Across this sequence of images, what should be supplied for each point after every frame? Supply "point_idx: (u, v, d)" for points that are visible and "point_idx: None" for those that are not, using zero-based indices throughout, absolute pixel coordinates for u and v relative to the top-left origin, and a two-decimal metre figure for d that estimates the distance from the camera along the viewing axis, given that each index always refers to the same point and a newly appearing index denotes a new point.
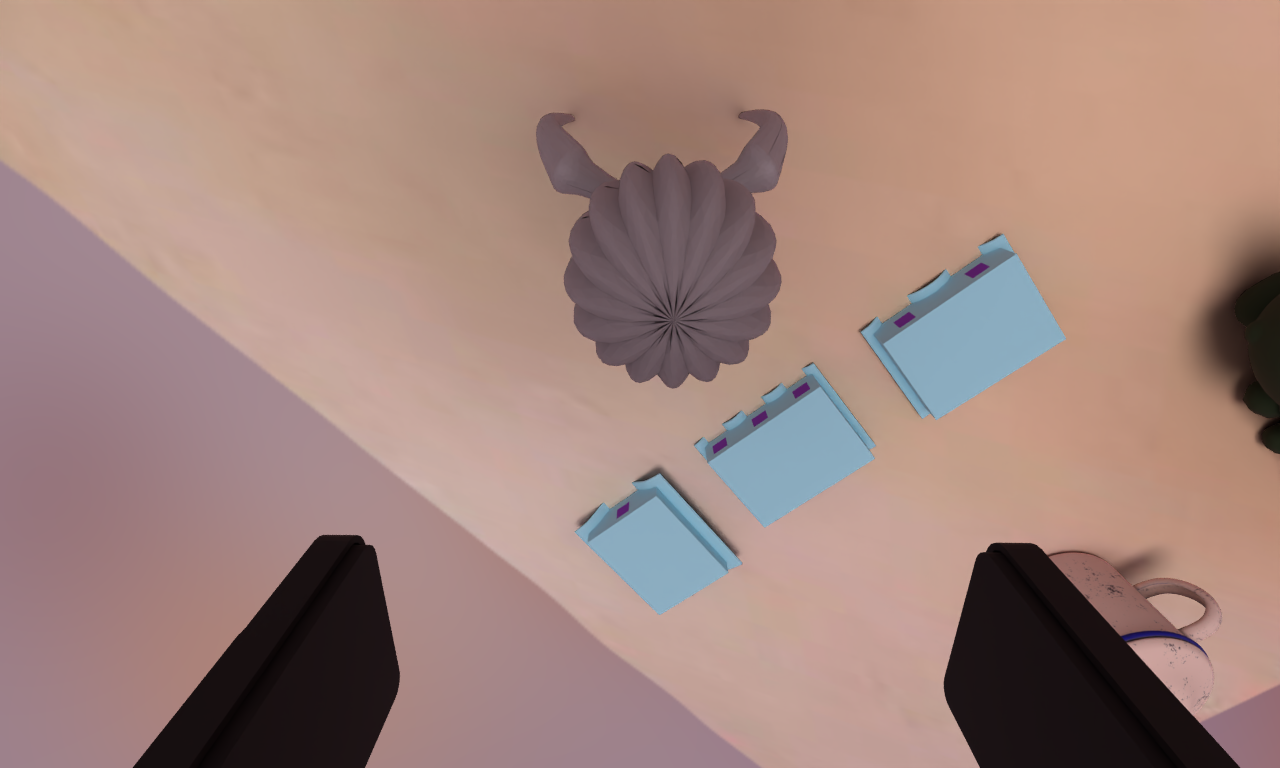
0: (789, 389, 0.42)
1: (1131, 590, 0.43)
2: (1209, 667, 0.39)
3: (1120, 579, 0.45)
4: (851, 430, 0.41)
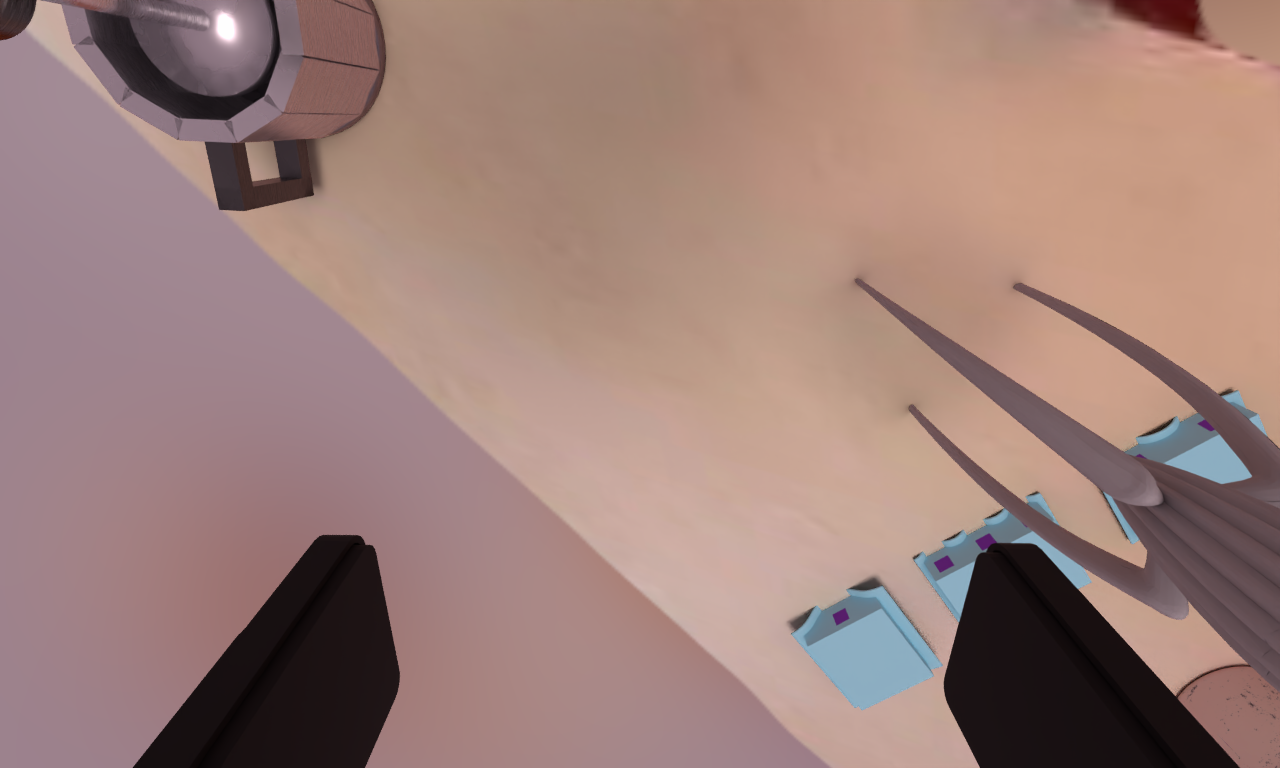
0: None
1: None
2: None
3: None
4: None
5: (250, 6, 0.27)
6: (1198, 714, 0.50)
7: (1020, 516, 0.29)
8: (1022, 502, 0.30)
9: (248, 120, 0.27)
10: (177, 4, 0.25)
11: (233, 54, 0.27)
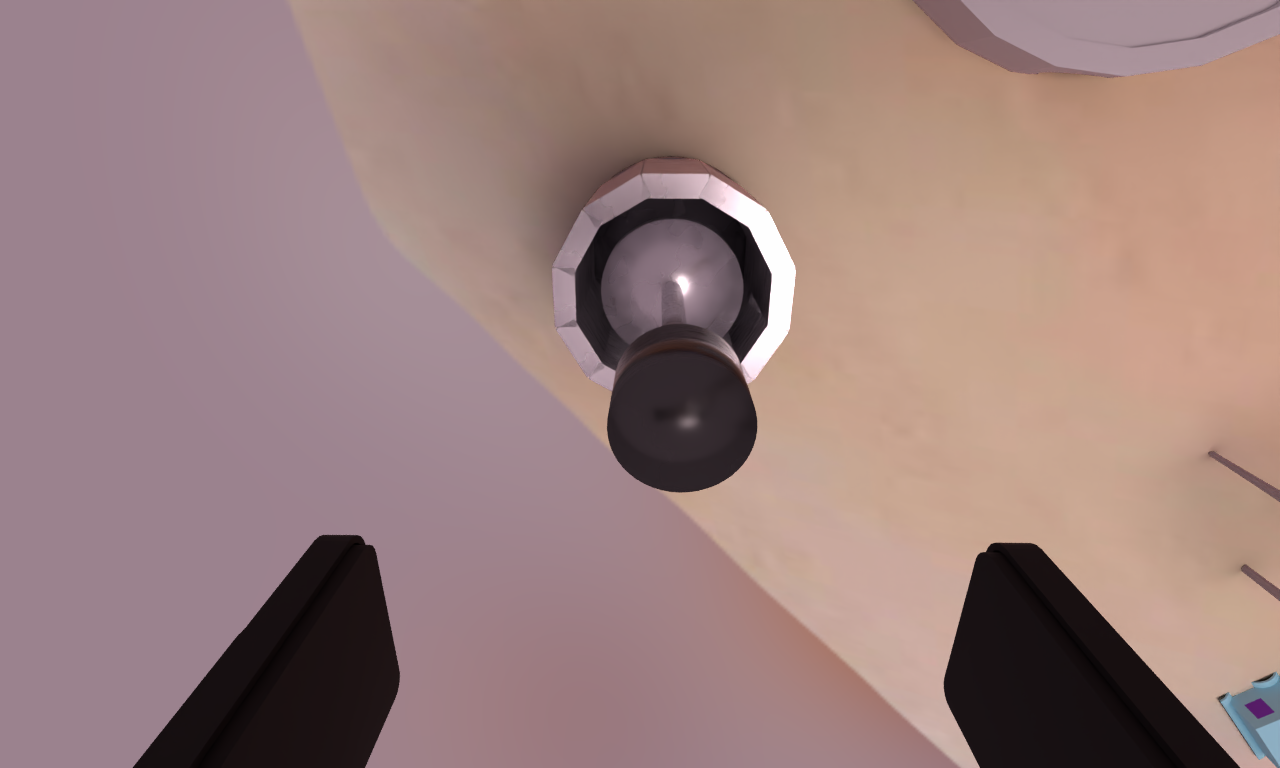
0: None
1: None
2: None
3: None
4: None
5: (727, 278, 0.26)
6: None
7: None
8: None
9: None
10: (680, 294, 0.25)
11: (699, 321, 0.27)
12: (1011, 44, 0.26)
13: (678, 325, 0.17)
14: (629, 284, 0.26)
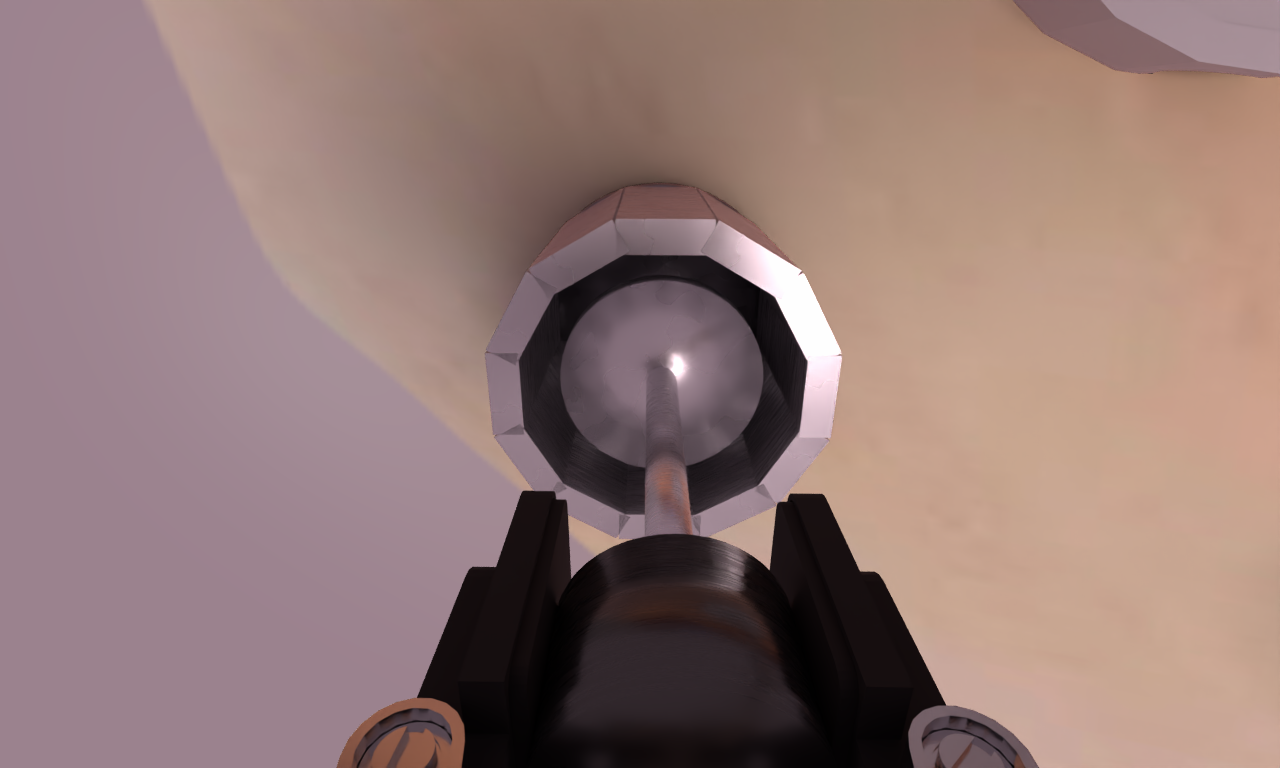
0: None
1: None
2: None
3: None
4: None
5: (741, 363, 0.18)
6: None
7: None
8: None
9: (725, 514, 0.19)
10: (673, 393, 0.17)
11: (700, 420, 0.19)
12: (1137, 30, 0.19)
13: (671, 538, 0.09)
14: (600, 371, 0.18)
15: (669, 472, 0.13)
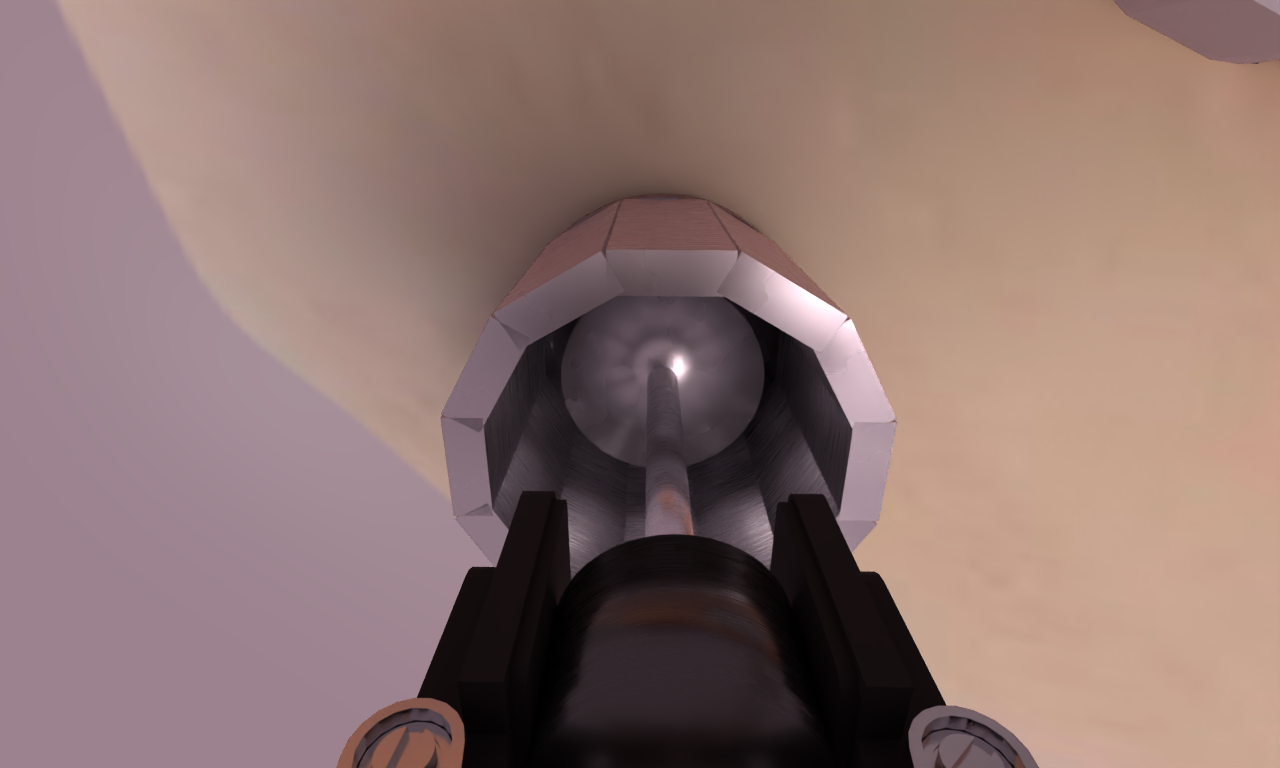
0: None
1: None
2: None
3: None
4: None
5: (742, 363, 0.18)
6: None
7: None
8: None
9: None
10: (674, 393, 0.17)
11: (701, 419, 0.19)
12: (1262, 7, 0.15)
13: (672, 539, 0.09)
14: (601, 370, 0.18)
15: (670, 472, 0.13)
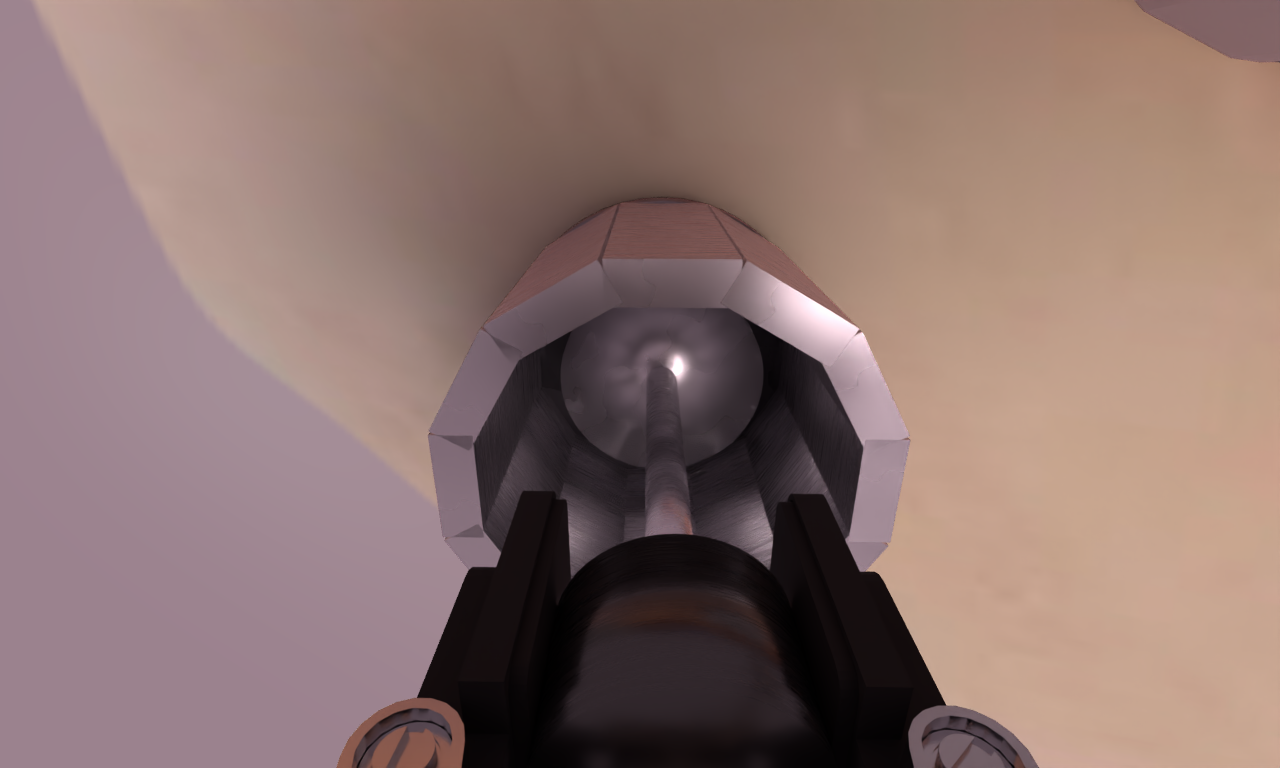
0: None
1: None
2: None
3: None
4: None
5: (741, 363, 0.18)
6: None
7: None
8: None
9: None
10: (674, 393, 0.17)
11: (700, 420, 0.19)
12: None
13: (671, 538, 0.09)
14: (600, 371, 0.18)
15: (669, 472, 0.13)
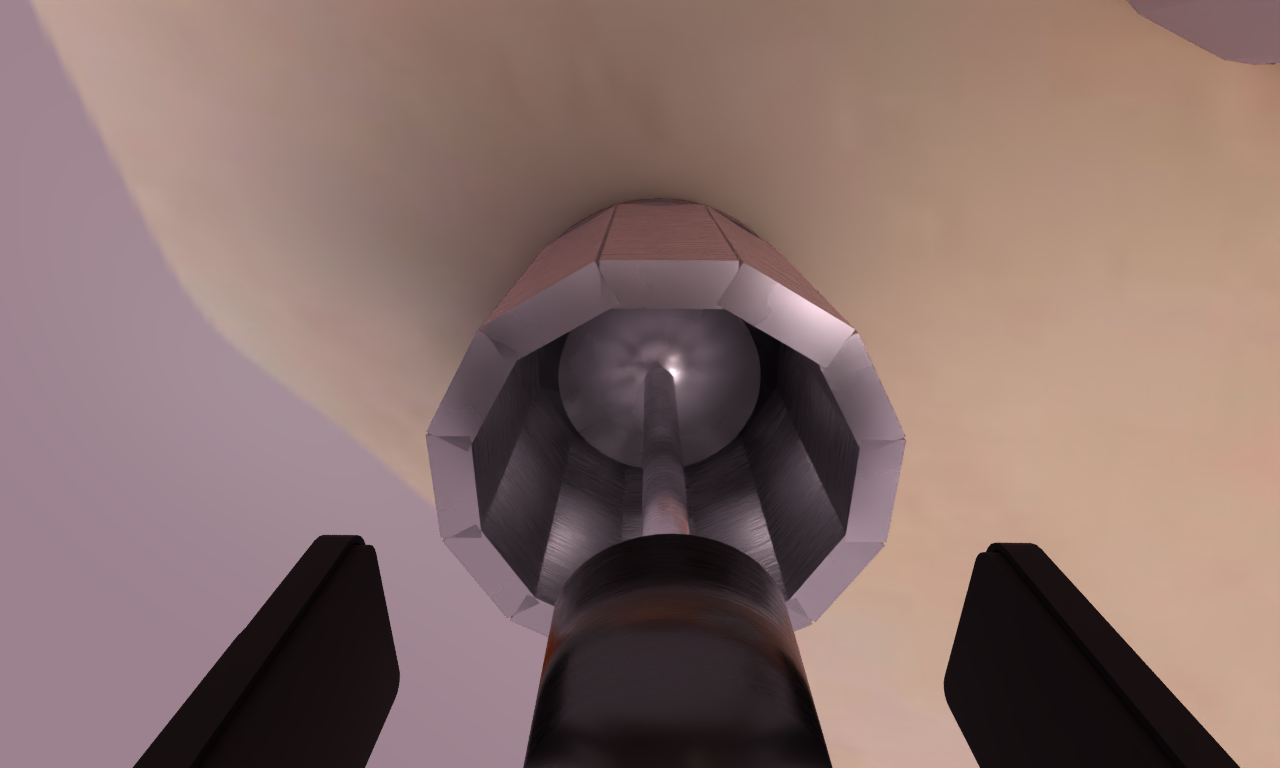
0: None
1: None
2: None
3: None
4: None
5: (738, 364, 0.18)
6: None
7: None
8: None
9: None
10: (671, 394, 0.17)
11: (698, 420, 0.19)
12: None
13: (668, 538, 0.09)
14: (598, 371, 0.18)
15: (667, 472, 0.13)
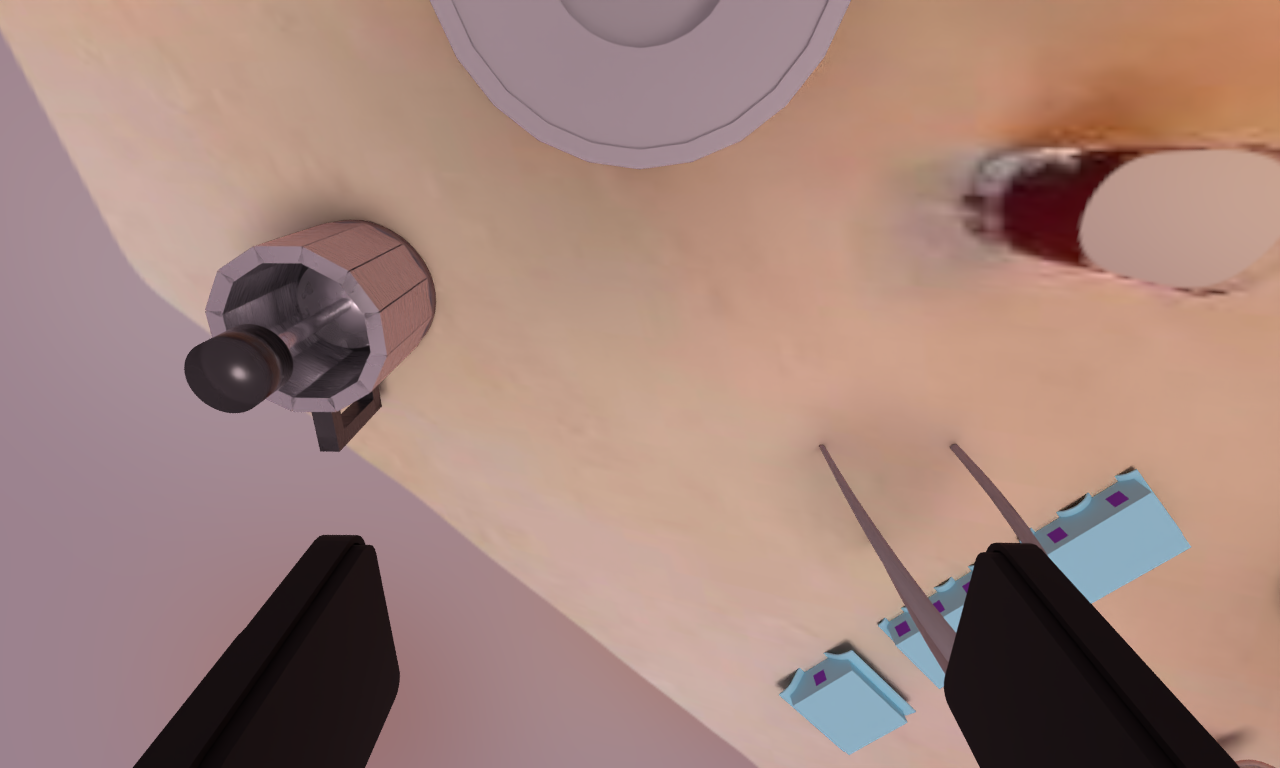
0: (958, 582, 0.52)
1: None
2: None
3: None
4: None
5: None
6: None
7: (943, 668, 0.38)
8: None
9: (345, 397, 0.36)
10: (336, 306, 0.39)
11: None
12: (552, 146, 0.36)
13: (245, 324, 0.30)
14: (316, 299, 0.40)
15: (296, 326, 0.35)
